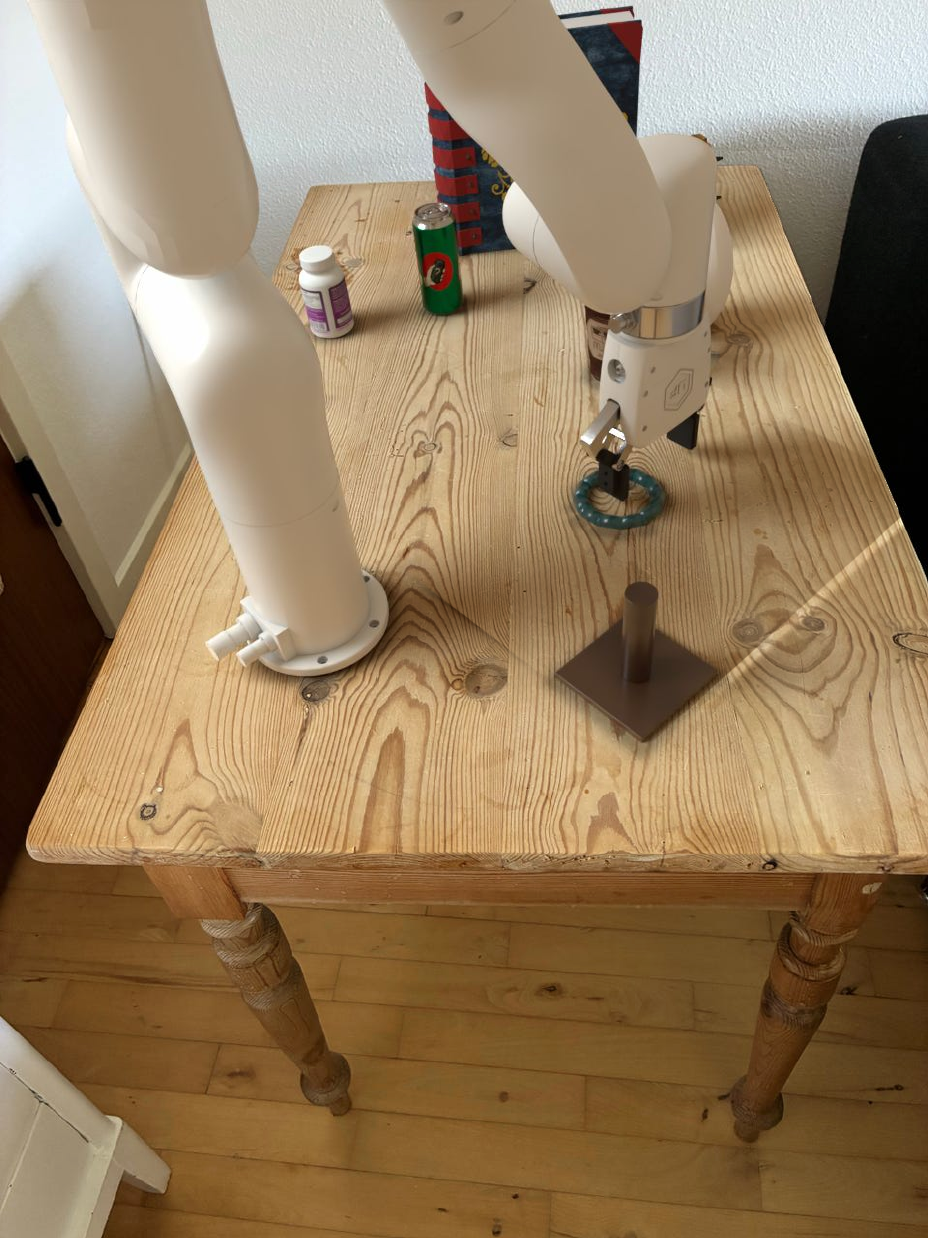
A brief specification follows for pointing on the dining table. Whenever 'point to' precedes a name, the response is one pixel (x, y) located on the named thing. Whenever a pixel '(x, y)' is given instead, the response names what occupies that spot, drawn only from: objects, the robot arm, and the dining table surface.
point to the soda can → (438, 258)
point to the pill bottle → (325, 293)
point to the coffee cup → (596, 339)
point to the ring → (617, 521)
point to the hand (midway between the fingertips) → (647, 467)
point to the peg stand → (636, 668)
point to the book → (477, 177)
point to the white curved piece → (719, 265)
